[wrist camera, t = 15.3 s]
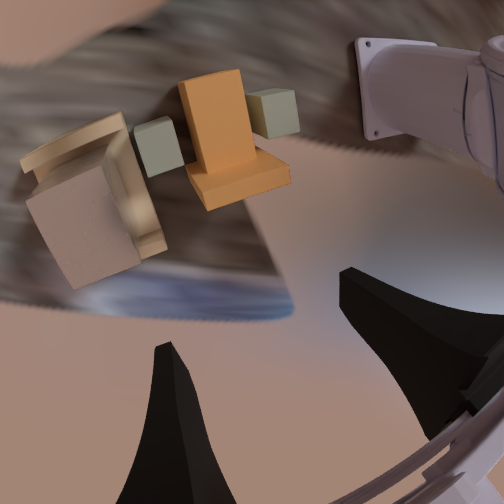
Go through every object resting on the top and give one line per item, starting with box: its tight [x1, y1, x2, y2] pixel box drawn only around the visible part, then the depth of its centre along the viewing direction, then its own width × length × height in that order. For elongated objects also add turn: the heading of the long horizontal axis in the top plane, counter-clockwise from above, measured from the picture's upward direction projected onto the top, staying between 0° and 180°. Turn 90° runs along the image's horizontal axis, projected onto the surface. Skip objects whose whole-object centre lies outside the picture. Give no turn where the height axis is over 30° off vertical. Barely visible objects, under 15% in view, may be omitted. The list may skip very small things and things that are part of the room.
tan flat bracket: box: [19, 110, 168, 260], centre depth 16 cm, size 6×8×2 cm
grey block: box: [25, 144, 142, 290], centre depth 14 cm, size 4×5×5 cm
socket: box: [134, 88, 300, 178], centre depth 16 cm, size 9×2×3 cm, turn 101°
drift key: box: [177, 69, 291, 211], centre depth 15 cm, size 4×6×5 cm
